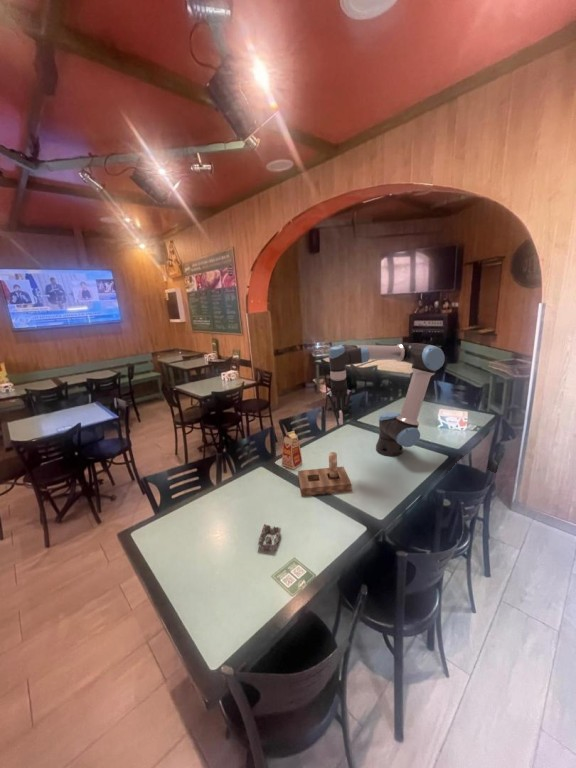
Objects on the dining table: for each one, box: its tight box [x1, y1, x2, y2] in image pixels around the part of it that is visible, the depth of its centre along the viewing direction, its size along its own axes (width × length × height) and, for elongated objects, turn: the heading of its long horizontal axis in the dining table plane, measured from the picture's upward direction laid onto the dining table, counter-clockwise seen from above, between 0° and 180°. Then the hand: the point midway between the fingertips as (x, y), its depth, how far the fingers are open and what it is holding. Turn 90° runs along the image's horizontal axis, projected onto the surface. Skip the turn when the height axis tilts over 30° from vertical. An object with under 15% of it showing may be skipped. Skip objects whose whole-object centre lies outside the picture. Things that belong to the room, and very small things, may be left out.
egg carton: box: [257, 523, 282, 553], centre depth 120 cm, size 11×8×4 cm
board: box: [297, 466, 353, 497], centre depth 155 cm, size 24×16×4 cm, turn 94°
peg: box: [328, 451, 338, 480], centre depth 153 cm, size 4×4×16 cm
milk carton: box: [281, 430, 303, 470], centre depth 174 cm, size 9×9×20 cm
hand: (340, 423), depth 157 cm, fingers closed
